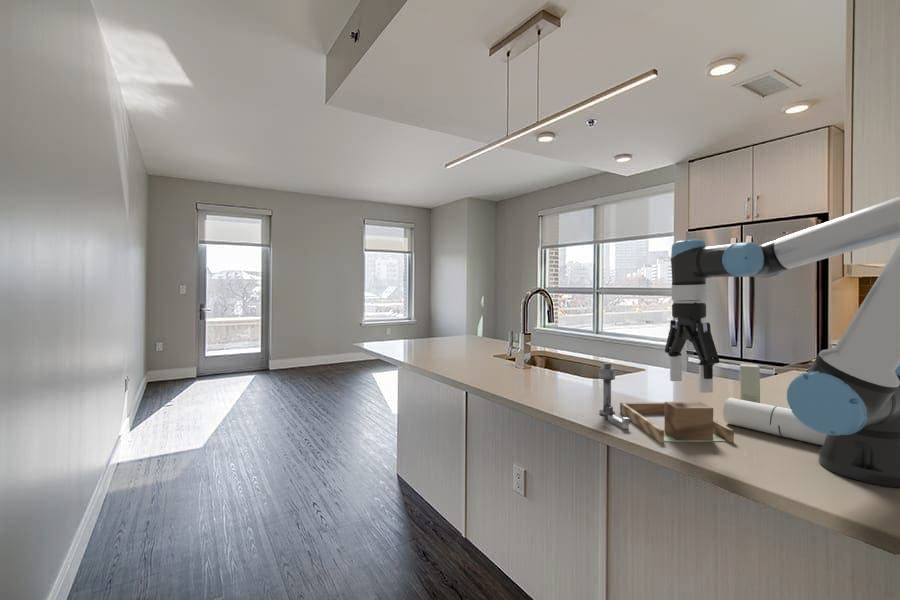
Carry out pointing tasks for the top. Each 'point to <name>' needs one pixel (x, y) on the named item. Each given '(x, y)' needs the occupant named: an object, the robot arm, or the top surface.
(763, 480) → the top surface
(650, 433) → the bay
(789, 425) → the cylindrical container
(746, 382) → the box
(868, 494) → the top surface
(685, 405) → the block
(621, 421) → the crank handle
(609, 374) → the post
